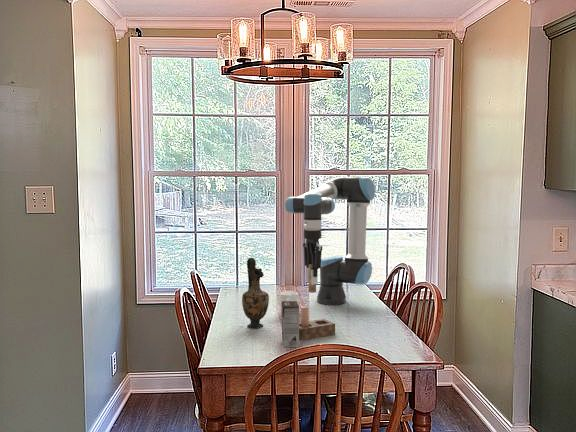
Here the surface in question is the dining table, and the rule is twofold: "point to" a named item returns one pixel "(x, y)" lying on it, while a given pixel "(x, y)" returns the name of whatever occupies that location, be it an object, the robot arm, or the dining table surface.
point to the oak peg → (311, 287)
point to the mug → (288, 297)
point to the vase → (254, 296)
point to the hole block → (316, 329)
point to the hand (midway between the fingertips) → (312, 283)
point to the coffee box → (290, 323)
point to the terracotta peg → (304, 316)
